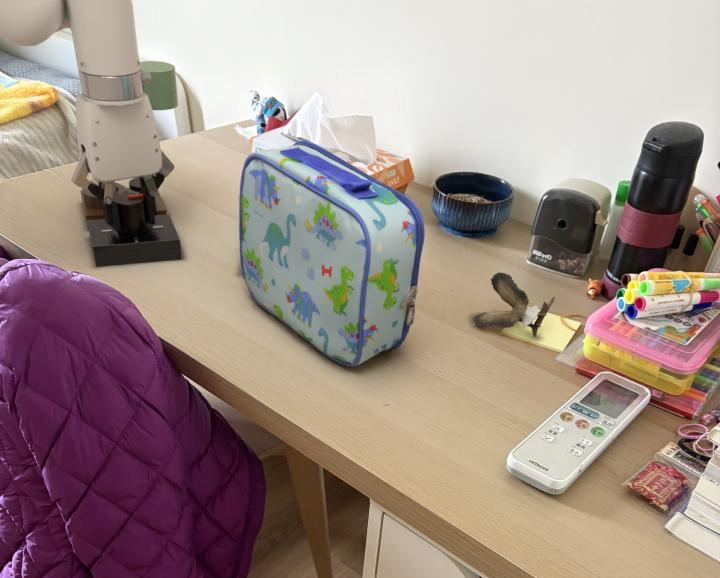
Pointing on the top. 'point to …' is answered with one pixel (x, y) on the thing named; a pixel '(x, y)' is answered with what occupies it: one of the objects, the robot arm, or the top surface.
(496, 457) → the top surface
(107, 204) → the robot arm
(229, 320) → the top surface
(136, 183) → the desk lamp
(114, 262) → the dimmer plate
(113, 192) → the lamp button
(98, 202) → the lamp base
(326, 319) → the lunch box
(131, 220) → the dimmer knob
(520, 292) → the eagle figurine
